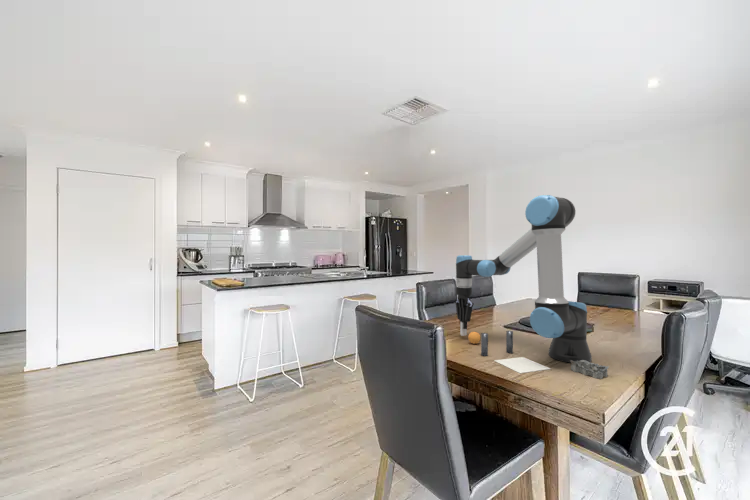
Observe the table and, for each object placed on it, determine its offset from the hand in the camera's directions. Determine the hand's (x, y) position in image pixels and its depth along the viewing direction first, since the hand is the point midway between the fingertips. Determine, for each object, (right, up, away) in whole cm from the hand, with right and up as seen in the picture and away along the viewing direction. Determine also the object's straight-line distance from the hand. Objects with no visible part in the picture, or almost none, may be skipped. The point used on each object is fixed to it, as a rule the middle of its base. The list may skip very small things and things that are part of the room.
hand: (463, 335), depth 165 cm
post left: (+2, -2, -26) cm, 26 cm away
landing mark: (+12, -2, -37) cm, 39 cm away
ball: (+3, +1, -8) cm, 9 cm away
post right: (+14, -2, -22) cm, 26 cm away
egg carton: (+33, -3, -45) cm, 56 cm away
